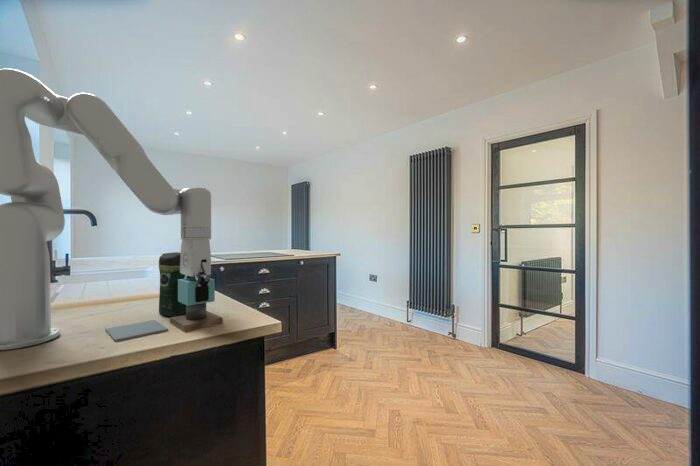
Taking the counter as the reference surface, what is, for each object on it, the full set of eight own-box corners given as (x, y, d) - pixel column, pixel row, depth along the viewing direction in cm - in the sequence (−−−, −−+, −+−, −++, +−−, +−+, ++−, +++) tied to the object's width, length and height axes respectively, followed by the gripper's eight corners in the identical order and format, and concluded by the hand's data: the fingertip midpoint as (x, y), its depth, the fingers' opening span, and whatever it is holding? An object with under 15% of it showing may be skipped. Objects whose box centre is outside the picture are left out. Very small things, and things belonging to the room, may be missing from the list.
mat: (115, 341, 73) (115, 339, 73) (105, 330, 80) (105, 328, 80) (168, 330, 81) (168, 328, 81) (154, 321, 88) (154, 319, 88)
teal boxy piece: (187, 305, 82) (187, 282, 82) (177, 301, 87) (177, 279, 87) (214, 301, 87) (214, 279, 87) (204, 297, 92) (204, 276, 92)
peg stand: (183, 331, 80) (183, 286, 80) (170, 323, 87) (170, 281, 87) (222, 323, 88) (222, 281, 87) (207, 315, 94) (207, 277, 94)
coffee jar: (198, 312, 98) (198, 252, 97) (172, 319, 91) (172, 254, 90) (179, 308, 102) (179, 250, 102) (154, 314, 96) (153, 252, 95)
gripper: (170, 233, 90) (170, 296, 90) (194, 234, 78) (194, 307, 79) (197, 233, 96) (197, 292, 96) (224, 234, 84) (224, 302, 84)
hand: (196, 298), depth 87 cm, fingers closed on teal boxy piece, 7 cm apart
